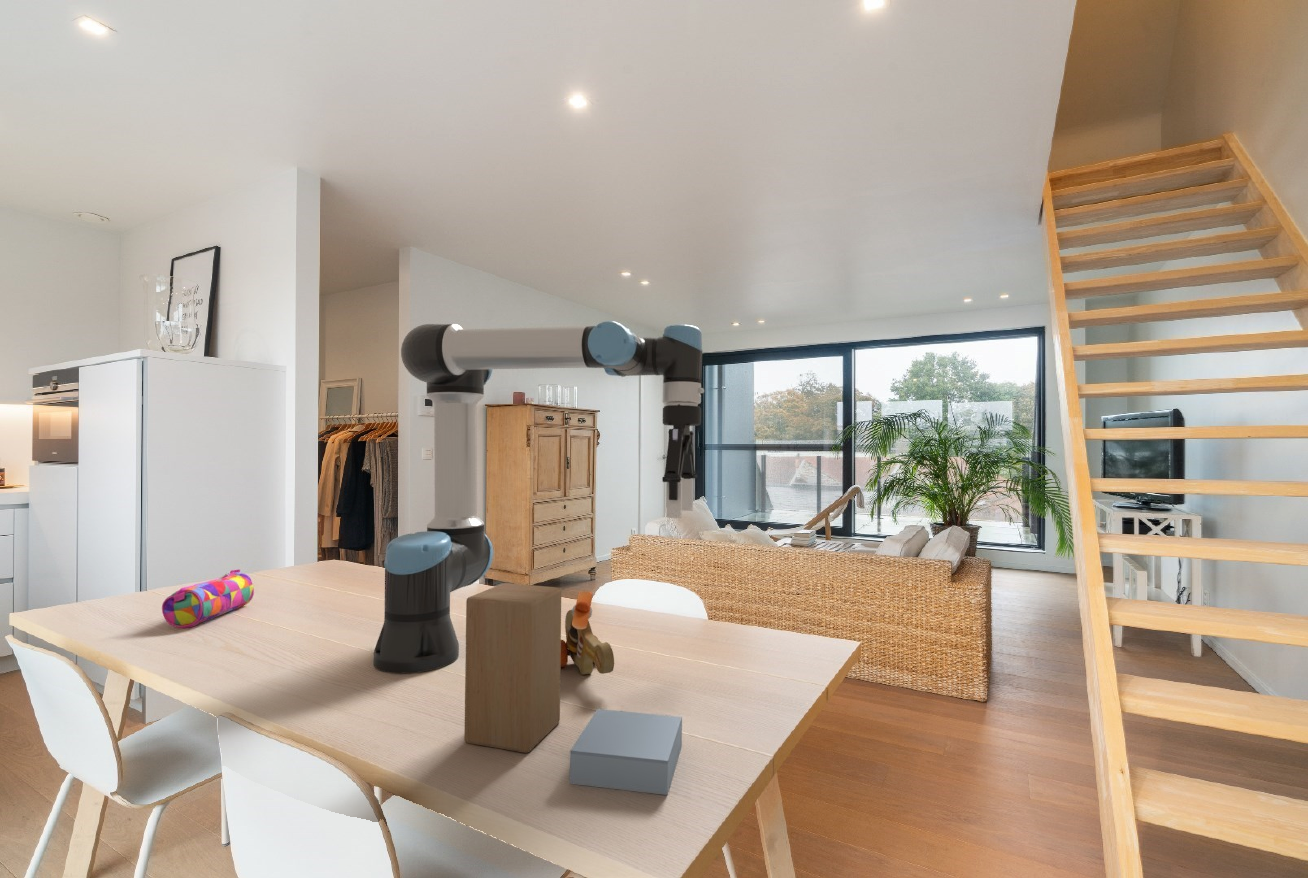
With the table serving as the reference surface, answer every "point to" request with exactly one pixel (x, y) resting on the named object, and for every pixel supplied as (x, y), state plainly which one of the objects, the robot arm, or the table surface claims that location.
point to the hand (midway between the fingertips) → (680, 514)
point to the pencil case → (207, 599)
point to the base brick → (627, 751)
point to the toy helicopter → (584, 640)
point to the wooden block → (512, 666)
